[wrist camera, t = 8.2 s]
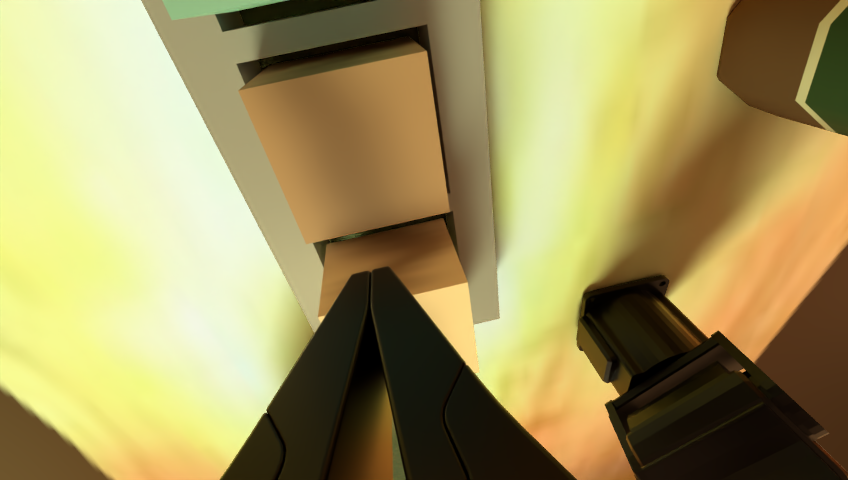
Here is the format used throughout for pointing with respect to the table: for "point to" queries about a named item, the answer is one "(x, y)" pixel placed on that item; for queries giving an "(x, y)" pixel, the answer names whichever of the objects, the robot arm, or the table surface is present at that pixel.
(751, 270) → the table surface
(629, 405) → the robot arm
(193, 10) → the green block
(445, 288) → the light brown block
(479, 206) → the grey rectangular tray
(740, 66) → the beer bottle
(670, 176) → the table surface
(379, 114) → the tan block
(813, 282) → the table surface
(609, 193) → the table surface
